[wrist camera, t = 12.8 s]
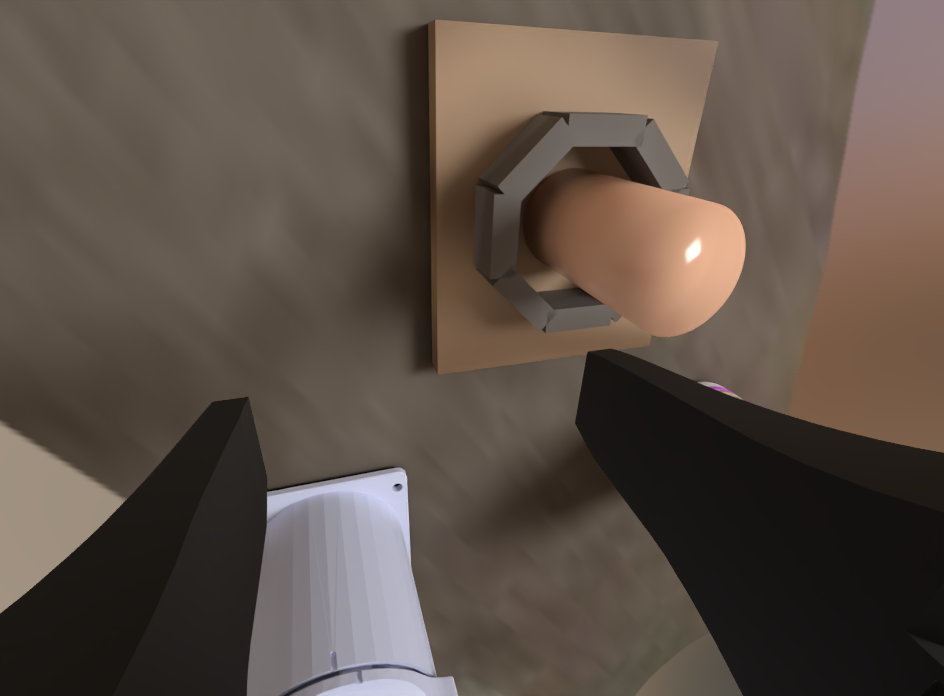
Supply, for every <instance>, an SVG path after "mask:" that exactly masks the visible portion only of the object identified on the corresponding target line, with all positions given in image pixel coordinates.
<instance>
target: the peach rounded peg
mask: <svg viewBox="0 0 944 696" xmlns="http://www.w3.org/2000/svg"><path fill="white" fill-rule="evenodd" d="M524 236H525V240H526V243H527V245H528V248H529V249H530V251H531V252H532V254H533V255H534V256H535V257H536V258H537V259H538V260H539V261H541V262H542V263H544V264H545V265H547V266H548V267H550V268H551V269H553V270H554V271H556V272H557V273H559V274H560V275H562V276H563V277H565V278H566V279H568V280H569V281H571V282H572V283H574V284H575V285H577V286H578V287H580V288H581V289H583V290H584V291H586V292H587V293H588V294H590V295H591V296H593V297H594V298H596V299H597V300H599V301H600V302H602V303H603V304H605V305H606V306H608V307H609V308H611V309H612V310H614V311H615V312H617V313H618V314H620V315H621V316H623V317H624V318H626V319H627V320H629V321H630V322H632V323H633V324H635V325H636V326H637V327H639V328H640V329H642V330H643V331H645V332H647V333H649V334H651V335H654V336H658V337H673V336H677V335H681V334H684V333H687V332H689V331H691V330H693V329H695V328H697V327H698V326H700V325H701V324H703V323H704V322H705V321H707V320H708V319H709V318H710V317H711V316H713V315H714V314H715V313H716V312H717V311H718V310H719V308H720V307H721V306H722V305H723V304H724V302H725V301H726V300H727V298H728V297H729V295H730V294H731V292H732V291H733V289H734V287H735V285H736V283H737V281H738V278H739V276H740V273H741V270H742V267H743V263H744V258H745V246H746V242H745V234H744V231H743V227H742V225H741V223H740V221H739V219H738V218H737V216H736V215H735V214H734V213H733V212H732V211H731V210H730V209H728V208H727V207H725V206H723V205H720V204H717V203H713V202H709V201H706V200H702V199H698V198H694V197H690V196H686V195H683V194H679V193H675V192H671V191H667V190H663V189H660V188H656V187H652V186H648V185H644V184H640V183H637V182H633V181H629V180H625V179H621V178H617V177H613V176H610V175H606V174H602V173H598V172H594V171H590V170H587V169H582V168H568V169H564V170H561V171H559V172H556V173H554V174H553V175H551V176H550V177H548V178H547V179H546V180H544V181H543V182H542V183H541V184H540V185H539V187H538V188H537V189H536V190H535V192H534V193H533V195H532V197H531V199H530V201H529V203H528V205H527V208H526V212H525V216H524Z"/></svg>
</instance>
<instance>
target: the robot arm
mask: <svg viewBox="0 0 944 696" xmlns="http://www.w3.org/2000/svg"><path fill="white" fill-rule="evenodd" d="M575 424H576V426H577V428H578V430H579V431H580V433H581V435H582V437H583V439H584V441H585V443H586V445H587V447H588V448H589V450H590V452H591V454H592V455H593V457H594V459H595V460H596V462H597V463H598V465H599V466H600V467H601V469H602V470H603V471H604V473H605V474H606V476H607V477H608V478H609V480H610V481H611V482H612V484H613V485H614V486H615V488H616V489H617V490H618V492H619V493H620V494H621V496H622V497H623V498H624V500H625V501H626V502H627V504H628V505H629V506H630V508H631V509H632V510H633V512H634V513H635V514H636V516H637V517H638V518H639V520H640V521H641V522H642V524H643V525H644V526H645V528H646V529H647V530H648V532H649V533H650V535H651V536H652V537H653V539H654V540H655V542H656V543H657V544H658V546H659V547H660V549H661V550H662V552H663V553H664V555H665V556H666V558H667V559H668V561H669V563H670V564H671V566H672V568H673V569H674V571H675V573H676V574H677V576H678V578H679V579H680V581H681V583H682V584H683V586H684V588H685V589H686V591H687V593H688V594H689V596H690V598H691V599H692V601H693V603H694V605H695V607H696V608H697V610H698V612H699V614H700V616H701V617H702V619H703V621H704V623H705V624H706V626H707V628H708V630H709V632H710V633H711V635H712V637H713V639H714V640H715V642H716V644H717V646H718V648H719V650H720V652H721V654H722V656H723V658H724V659H725V661H726V663H727V665H728V667H729V669H730V671H731V673H732V675H733V677H734V679H735V681H736V683H737V685H738V687H739V689H740V690H741V692H742V694H743V696H944V453H942V452H936V451H931V450H925V449H920V448H914V447H910V446H905V445H900V444H895V443H891V442H885V441H881V440H877V439H873V438H869V437H865V436H860V435H856V434H852V433H848V432H844V431H840V430H836V429H833V428H829V427H825V426H822V425H818V424H814V423H811V422H807V421H805V420H801V419H798V418H794V417H791V416H788V415H785V414H782V413H778V412H775V411H772V410H769V409H766V408H763V407H761V406H758V405H755V404H752V403H750V402H747V401H744V400H741V399H739V398H736V397H733V396H731V395H728V394H725V393H723V392H720V391H718V390H715V389H713V388H710V387H708V386H705V385H703V384H700V383H698V382H695V381H693V380H691V379H688V378H686V377H683V376H681V375H679V374H676V373H674V372H671V371H669V370H667V369H664V368H662V367H659V366H657V365H655V364H652V363H650V362H647V361H645V360H642V359H640V358H637V357H635V356H632V355H630V354H627V353H624V352H621V351H618V350H614V349H611V348H610V349H603V350H595V351H588V352H587V357H586V363H585V369H584V375H583V380H582V386H581V392H580V398H579V403H578V409H577V415H576V421H575ZM395 484H400V485H398V486H394V485H395ZM0 696H458V694H457V690H456V686H455V682H454V679H453V677H452V676H448V677H437V676H436V671H435V667H434V663H433V659H432V654H431V650H430V646H429V642H428V637H427V633H426V629H425V625H424V621H423V616H422V612H421V608H420V604H419V599H418V595H417V591H416V587H415V582H414V578H413V574H412V570H411V556H410V534H409V513H408V492H407V476H406V473H405V470H403V469H402V468H392V469H386V470H381V471H376V472H370V473H365V474H360V475H355V476H349V477H344V478H339V479H334V480H328V481H323V482H318V483H312V484H307V485H302V486H297V487H291V488H286V489H281V490H276V491H270V492H267V475H266V471H265V466H264V462H263V458H262V454H261V449H260V445H259V441H258V436H257V432H256V428H255V424H254V419H253V415H252V411H251V406H250V402H249V398H248V397H245V398H237V399H230V400H223V401H215V402H212V403H211V404H210V406H209V407H208V408H207V409H206V410H205V411H204V412H203V413H202V415H201V416H200V417H199V418H198V419H197V421H196V422H195V423H194V424H193V425H192V427H191V428H190V429H189V430H188V431H187V433H186V434H185V435H184V436H183V437H182V439H181V440H180V441H179V442H178V443H177V444H176V446H175V447H174V448H173V449H172V450H171V452H170V453H169V454H168V455H167V456H166V457H165V458H164V459H163V461H162V462H161V463H160V464H159V465H158V466H157V467H156V468H155V470H154V471H153V472H152V473H151V474H150V475H149V476H148V478H147V479H146V480H145V481H144V482H143V483H142V484H141V485H140V486H139V487H138V488H137V490H136V491H135V492H134V493H133V494H132V495H131V496H130V497H129V498H128V499H127V500H126V501H125V502H124V503H123V504H122V505H121V506H120V507H119V508H118V509H117V510H116V511H115V512H114V513H113V514H112V515H111V516H110V518H108V519H107V521H106V522H104V523H103V524H102V526H100V527H99V528H98V530H96V531H95V532H94V533H93V534H92V535H91V536H90V537H89V538H88V539H87V540H86V541H85V542H83V543H82V544H81V545H80V546H79V547H78V548H77V549H76V550H75V551H74V552H73V553H71V554H70V555H69V556H68V557H67V558H66V559H65V560H64V561H63V562H61V563H60V564H59V565H58V566H57V567H56V568H55V569H53V570H52V571H51V572H50V573H49V574H48V575H46V576H45V577H44V578H43V579H42V580H41V581H40V582H39V583H37V584H36V585H35V586H34V587H33V588H32V589H30V590H29V591H28V592H27V593H25V594H24V595H23V596H22V597H21V598H19V599H18V600H17V601H16V602H14V603H13V604H12V605H10V606H9V607H8V608H7V609H5V610H4V611H3V612H2V613H0Z"/></svg>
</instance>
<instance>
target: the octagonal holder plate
mask: <svg viewBox="0 0 944 696" xmlns="http://www.w3.org/2000/svg"><path fill="white" fill-rule="evenodd" d="M717 45H718V41H709V40H696V39H683V38H670V37H656V36H643V35H630V34H617V33H604V32H591V31H578V30H565V29H552V28H538V27H525V26H512V25H499V24H486V23H473V22H460V21H447V20H434V21H432V22H430V23H428V51H429V133H430V214H431V296H432V364H433V366H434V368H435V370H436V372H437V374H438V375H440V374H447V373H454V372H462V371H469V370H476V369H483V368H491V367H498V366H505V365H512V364H519V363H527V362H534V361H541V360H548V359H556V358H563V357H570V356H577V355H585V354H587V352H588V351H595V350H603V349H610V348H611V349H614V350H621V349H628V348H635V347H642V346H649V345H650V340H651V336H652V335H651V334H649V333H647V332H645V331H643V330H642V329H640V328H639V327H637V326H636V325H635V324H633V323H632V322H630V321H629V320H627V319H626V318H624V317H623V316H621V315H620V314H618V313H617V312H615V311H614V310H612V309H611V308H609V307H608V306H606V305H605V304H603V303H602V302H600V301H599V300H597V299H596V298H594V297H593V296H591V295H590V294H588V293H587V292H586V291H584V290H583V289H581V288H580V287H578V286H577V285H575V284H574V283H572V282H571V281H569V280H568V279H566V278H565V277H563V276H562V275H560V274H559V273H557V272H556V271H554V270H553V269H551V268H550V267H548V266H547V265H545V264H544V263H542V262H541V261H539V260H538V259H537V258H536V257H535V256H534V255H533V254H532V252H531V251H530V249H529V248H528V245H527V243H526V240H525V236H524V216H525V212H526V208H527V205H528V203H529V201H530V199H531V197H532V195H533V193H534V192H535V190H536V189H537V188H538V187H539V185H540V184H541V183H542V182H543V181H544V180H546V179H547V178H548V177H550V176H551V175H553V174H554V173H556V172H559V171H561V170H564V169H568V168H582V169H587V170H590V171H594V172H598V173H602V174H606V175H610V176H613V177H617V178H621V179H625V180H629V181H633V182H637V183H640V184H644V185H648V186H652V187H656V188H660V189H663V190H667V191H671V192H675V193H679V194H683V195H686V196H689V192H690V189H689V188H685V186H686V184H687V183H688V182H689V180H688V178H687V177H688V173H689V169H690V164H691V160H692V155H693V151H694V147H695V142H696V138H697V133H698V129H699V125H700V120H701V116H702V111H703V107H704V103H705V98H706V94H707V89H708V85H709V81H710V76H711V72H712V67H713V63H714V59H715V54H716V50H717Z"/></svg>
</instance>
